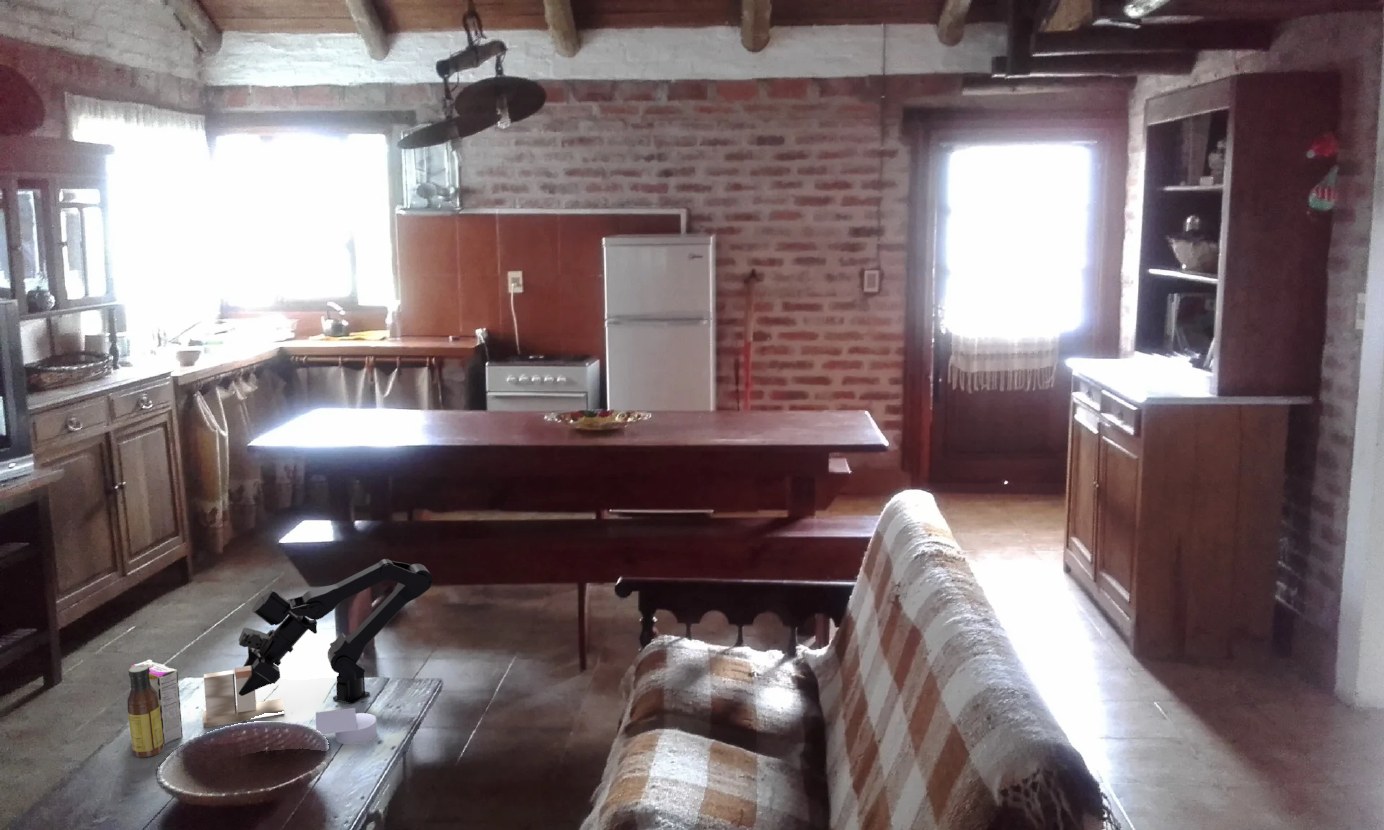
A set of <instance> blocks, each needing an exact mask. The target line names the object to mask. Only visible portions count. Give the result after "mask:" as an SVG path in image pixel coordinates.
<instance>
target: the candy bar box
mask: <svg viewBox="0 0 1384 830" xmlns="http://www.w3.org/2000/svg"><path fill="white" fill-rule="evenodd" d="M137 665H148V666H149V670H150V672H149V679H150V683H151V686H152V687H153V688H154V690H155V691H156V692H157V696H158V704H159V708H160V716H161V724H162V732H163V740H164V742H163V745H165V744H168V743H170V742H173V741H176V740H178V739H180V738H183V737H184V736H183V725H182V723H183V722H182V713H181V712H182V711H181V700H180V688H179V687H180V686H179V674H178V673H179V672H178V669H176V668H175V669H174V668H173V667H170V666H169V665H168V666H167V665H165V664H162V663H159V662H156V661H155V660H152V659H147V660H146V659H145V660H143V661H141V662H138V663H134V664H132V665H131V666H130V668H132V667H134V666H137Z"/></svg>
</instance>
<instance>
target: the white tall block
mask: <svg viewBox="0 0 1384 830" xmlns="http://www.w3.org/2000/svg"><path fill="white" fill-rule="evenodd" d="M243 666H244V665H243ZM243 666H239V667H234V679H235V694H236V706H237V708H238V713H239V712H245V711H251V710H256V703H257V700H256V690H254V691H252V692H250V693H248V694H246V695H244V696H241V695H239V691H240V690H241V688H242V687H243V685H244V684H245V682H246V681H247V679H248V678H249V677H250V675H251V666H244V667H243ZM252 666H253V665H252Z"/></svg>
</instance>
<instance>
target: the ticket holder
mask: <svg viewBox="0 0 1384 830" xmlns="http://www.w3.org/2000/svg"><path fill="white" fill-rule="evenodd" d="M203 683H204V684H203V686H204V697H205V701H204V702H205V710H203V711H202V715H203V718H202V719H203V728H204V729H206V728H212V727H218V726H223V725H224V726H225V725H229V724H235V723H241V721H242V722H247V721H246V720H248V721H251V720H250V719H251V718H254V717H255V716H259V715H262V714H264V713H278V712H282V711H284V712H285V708H284V704H283V700H282V698H276V699H270V700H266V701H265V700H264V701H258V702H257V701H256V710H251V711H245V712H239V713H238V708H237V693H236V678H235V669H230V670H223V671H217V672H211V673H210V672H209V673H204V674H203Z"/></svg>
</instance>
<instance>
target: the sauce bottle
mask: <svg viewBox="0 0 1384 830" xmlns="http://www.w3.org/2000/svg"><path fill="white" fill-rule="evenodd" d="M149 672H150V670H149V666H148V665H137V666H134V667H132V668H131V667H130V668H129V669H128V676H129V678H130V691H129V696H128V697H127V714H128V715H127V716H128V724H129V725H128V726H129V732H130V739H131V748H132V751H133V755H135V756H136V757H137V758H148V757H154V756H156V755H159V754H160V753H161V752H162V751H163V750H164V744H163V742H164V740H163V732H162V724H161V716H160V708H159V704H158V696H157V692H156V691H155V690H154V688H153V687H152V686H151V683H150V679H149Z"/></svg>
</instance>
